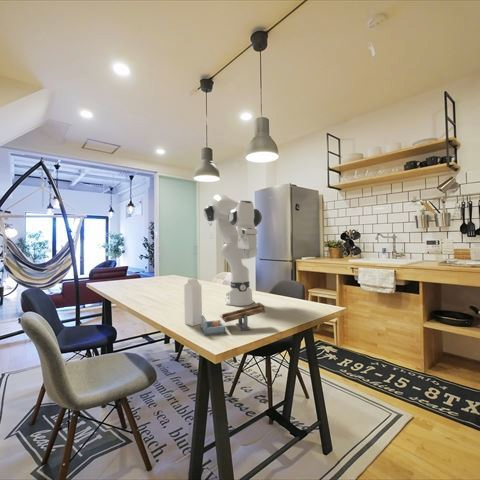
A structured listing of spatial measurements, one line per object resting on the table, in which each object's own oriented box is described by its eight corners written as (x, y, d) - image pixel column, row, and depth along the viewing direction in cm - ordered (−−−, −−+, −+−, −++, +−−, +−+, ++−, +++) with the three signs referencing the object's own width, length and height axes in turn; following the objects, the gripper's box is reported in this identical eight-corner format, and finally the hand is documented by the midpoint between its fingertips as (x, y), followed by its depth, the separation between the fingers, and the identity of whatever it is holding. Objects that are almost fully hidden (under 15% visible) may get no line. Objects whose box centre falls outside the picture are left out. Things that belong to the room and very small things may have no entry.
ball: (211, 328, 124) (211, 320, 124) (219, 326, 125) (218, 319, 125) (213, 330, 120) (212, 322, 120) (220, 329, 121) (220, 321, 121)
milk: (202, 323, 134) (201, 278, 134) (192, 326, 129) (192, 279, 129) (193, 321, 138) (193, 277, 138) (184, 323, 133) (184, 278, 133)
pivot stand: (243, 323, 132) (243, 310, 132) (250, 330, 122) (250, 315, 122) (235, 324, 131) (235, 310, 131) (242, 331, 121) (241, 316, 121)
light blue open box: (201, 328, 126) (201, 315, 126) (220, 326, 128) (220, 313, 128) (204, 335, 116) (204, 321, 116) (225, 333, 119) (225, 319, 119)
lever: (256, 308, 138) (255, 299, 138) (265, 314, 126) (264, 305, 126) (220, 318, 132) (218, 309, 132) (226, 325, 121) (224, 315, 121)
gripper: (234, 232, 151) (235, 257, 151) (246, 230, 131) (246, 259, 131) (245, 232, 153) (246, 256, 153) (258, 230, 133) (259, 258, 133)
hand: (246, 258), depth 142 cm, fingers closed
